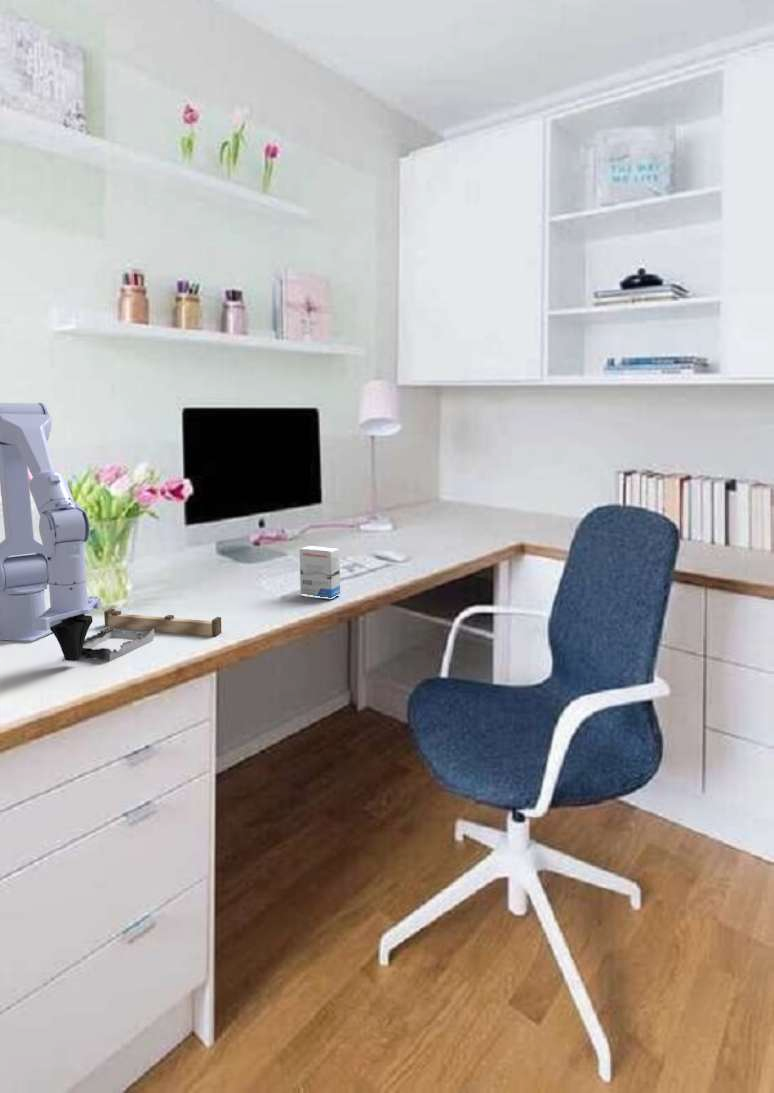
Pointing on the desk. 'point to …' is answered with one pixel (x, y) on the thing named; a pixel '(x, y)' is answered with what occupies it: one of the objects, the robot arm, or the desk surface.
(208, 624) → the ledge
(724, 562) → the desk surface
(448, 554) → the desk surface
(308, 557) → the ink box
